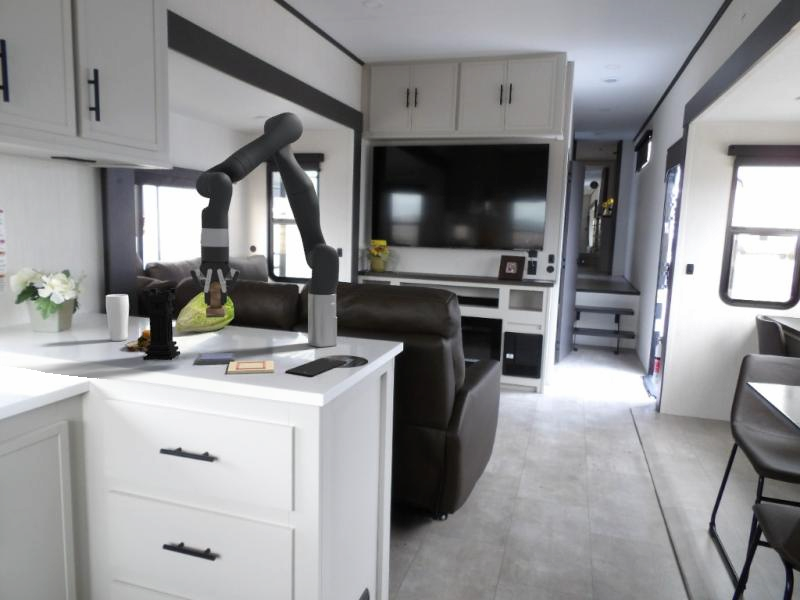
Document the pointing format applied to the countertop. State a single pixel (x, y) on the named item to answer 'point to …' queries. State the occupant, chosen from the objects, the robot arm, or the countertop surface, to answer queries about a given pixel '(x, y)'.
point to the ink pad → (216, 358)
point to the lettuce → (202, 316)
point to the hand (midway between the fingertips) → (215, 305)
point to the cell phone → (316, 367)
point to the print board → (251, 367)
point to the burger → (140, 342)
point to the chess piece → (160, 325)
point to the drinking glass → (117, 316)
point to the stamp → (215, 301)
